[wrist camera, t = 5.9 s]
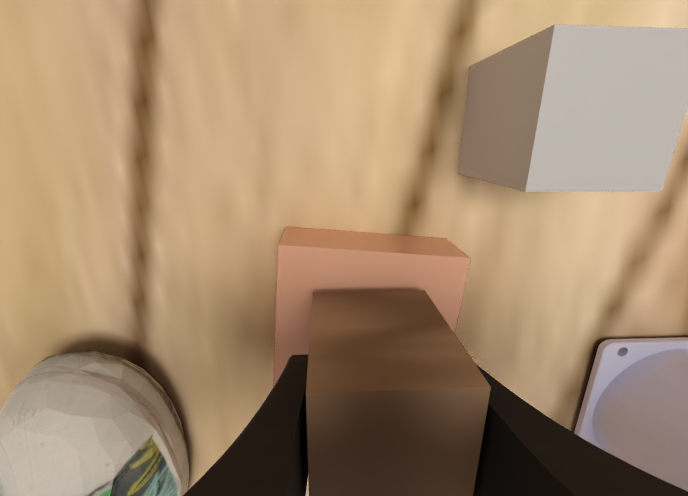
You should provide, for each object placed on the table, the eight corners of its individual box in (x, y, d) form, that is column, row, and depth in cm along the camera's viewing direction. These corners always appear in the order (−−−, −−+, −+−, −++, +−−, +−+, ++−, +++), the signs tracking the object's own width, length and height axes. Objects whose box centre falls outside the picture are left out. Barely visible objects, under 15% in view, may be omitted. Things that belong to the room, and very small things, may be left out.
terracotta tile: (443, 236, 15) (470, 258, 12) (418, 367, 17) (437, 411, 14) (286, 224, 15) (278, 244, 12) (281, 361, 17) (272, 407, 14)
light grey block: (570, 69, 13) (710, 29, 8) (549, 173, 14) (661, 191, 10) (469, 66, 13) (554, 24, 8) (457, 173, 14) (525, 191, 9)
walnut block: (424, 290, 12) (490, 386, 7) (416, 383, 13) (469, 518, 9) (312, 292, 12) (305, 393, 7) (315, 386, 13) (310, 527, 8)
